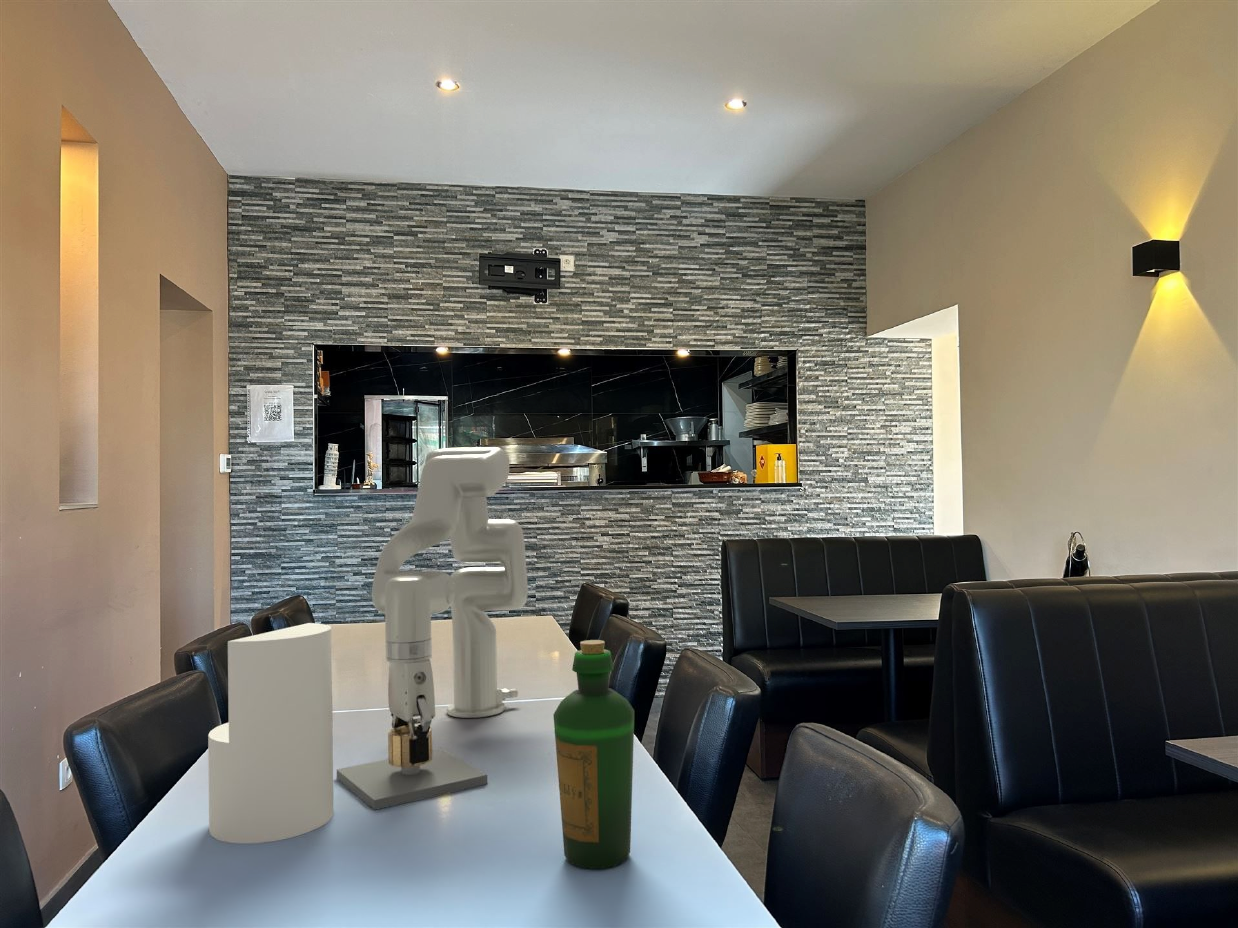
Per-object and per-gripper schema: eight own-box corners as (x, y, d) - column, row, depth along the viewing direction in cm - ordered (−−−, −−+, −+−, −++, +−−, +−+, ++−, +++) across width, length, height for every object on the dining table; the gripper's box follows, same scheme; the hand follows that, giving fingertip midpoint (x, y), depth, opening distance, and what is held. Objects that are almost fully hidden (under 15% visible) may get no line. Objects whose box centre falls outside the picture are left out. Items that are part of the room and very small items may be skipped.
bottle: (556, 843, 119) (551, 636, 120) (633, 838, 120) (628, 633, 121) (557, 877, 109) (552, 650, 110) (642, 872, 110) (636, 647, 111)
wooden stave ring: (422, 751, 152) (422, 722, 152) (438, 761, 146) (438, 731, 147) (383, 759, 148) (382, 729, 148) (398, 769, 142) (397, 738, 143)
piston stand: (441, 756, 160) (440, 715, 161) (487, 783, 145) (486, 737, 145) (336, 778, 149) (336, 733, 150) (374, 809, 134) (373, 760, 134)
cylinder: (357, 805, 136) (354, 624, 137) (280, 849, 120) (277, 643, 121) (267, 795, 142) (264, 621, 143) (181, 835, 125) (179, 639, 126)
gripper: (450, 654, 143) (452, 764, 142) (410, 640, 157) (412, 741, 157) (406, 660, 139) (408, 774, 138) (369, 645, 153) (371, 748, 152)
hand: (410, 755), depth 147 cm, fingers closed on wooden stave ring, 6 cm apart
